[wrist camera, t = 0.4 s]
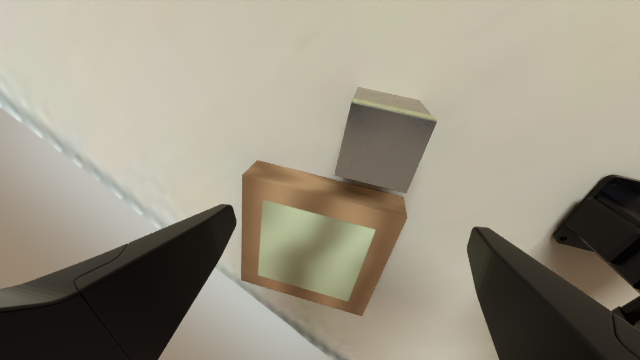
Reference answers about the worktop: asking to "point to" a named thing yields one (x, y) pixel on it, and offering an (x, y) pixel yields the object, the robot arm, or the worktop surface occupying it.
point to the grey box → (384, 139)
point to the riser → (316, 235)
